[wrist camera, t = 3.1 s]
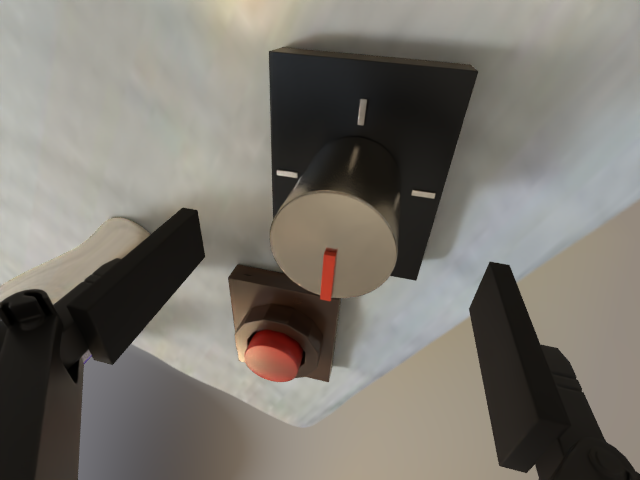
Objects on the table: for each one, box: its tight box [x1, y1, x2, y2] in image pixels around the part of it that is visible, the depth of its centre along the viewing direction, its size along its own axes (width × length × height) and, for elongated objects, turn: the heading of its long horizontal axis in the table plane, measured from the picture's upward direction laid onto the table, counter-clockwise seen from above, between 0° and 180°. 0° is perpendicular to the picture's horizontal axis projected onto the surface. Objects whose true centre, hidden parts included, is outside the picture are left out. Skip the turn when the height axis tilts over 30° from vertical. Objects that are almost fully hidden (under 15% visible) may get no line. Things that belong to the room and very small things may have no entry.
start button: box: [244, 330, 303, 382], centre depth 30 cm, size 5×5×2 cm
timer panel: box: [269, 47, 478, 280], centre depth 23 cm, size 14×11×3 cm
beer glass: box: [0, 217, 151, 320], centre depth 27 cm, size 7×7×15 cm
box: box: [228, 264, 341, 382], centre depth 33 cm, size 12×10×4 cm
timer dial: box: [270, 137, 401, 301], centre depth 18 cm, size 6×6×8 cm
